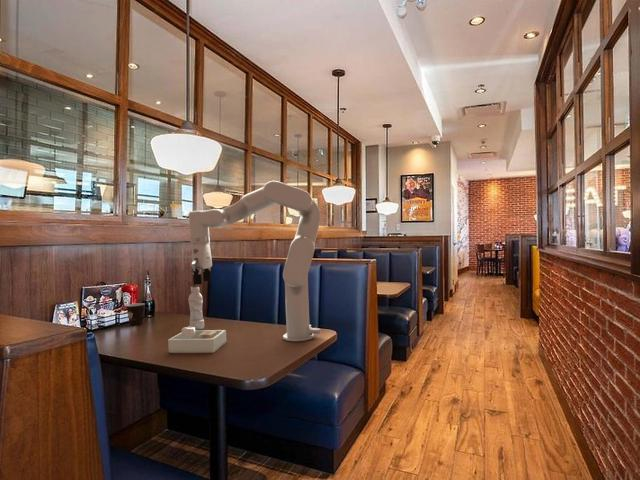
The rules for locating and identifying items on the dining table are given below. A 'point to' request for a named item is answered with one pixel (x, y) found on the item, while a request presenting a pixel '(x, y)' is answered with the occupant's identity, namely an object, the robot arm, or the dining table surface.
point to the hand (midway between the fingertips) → (202, 282)
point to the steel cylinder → (188, 333)
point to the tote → (197, 343)
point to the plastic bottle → (196, 309)
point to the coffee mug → (136, 313)
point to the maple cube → (208, 335)
